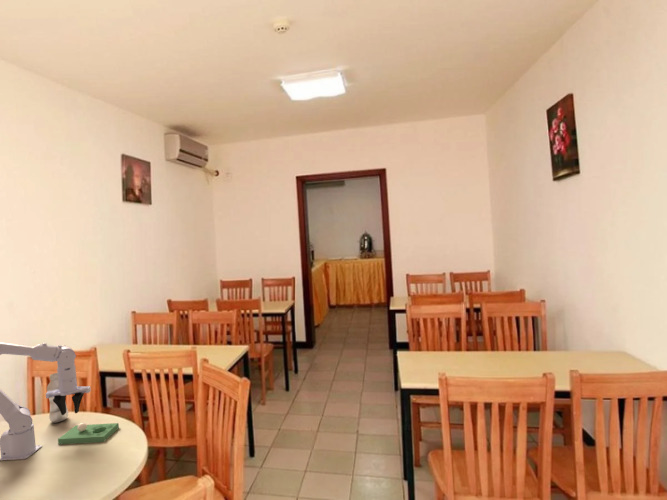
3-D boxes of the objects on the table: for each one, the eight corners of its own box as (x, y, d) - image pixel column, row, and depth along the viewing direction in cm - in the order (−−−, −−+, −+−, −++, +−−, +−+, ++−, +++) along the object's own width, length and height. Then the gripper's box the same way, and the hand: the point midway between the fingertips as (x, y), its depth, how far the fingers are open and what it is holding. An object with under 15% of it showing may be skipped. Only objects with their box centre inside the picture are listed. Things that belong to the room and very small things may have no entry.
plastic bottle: (55, 418, 165) (51, 372, 164) (72, 416, 166) (68, 370, 165) (46, 425, 159) (41, 378, 158) (63, 423, 159) (59, 376, 158)
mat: (58, 444, 143) (57, 439, 143) (76, 430, 153) (75, 425, 153) (104, 441, 143) (103, 436, 143) (118, 427, 153) (118, 423, 153)
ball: (75, 433, 147) (75, 425, 146) (81, 429, 150) (80, 421, 150) (84, 433, 147) (83, 424, 146) (89, 428, 150) (88, 420, 150)
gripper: (40, 385, 142) (43, 420, 142) (84, 379, 145) (87, 414, 145) (49, 378, 148) (53, 412, 149) (91, 373, 152) (94, 406, 152)
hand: (70, 413), depth 148 cm, fingers open, 4 cm apart
